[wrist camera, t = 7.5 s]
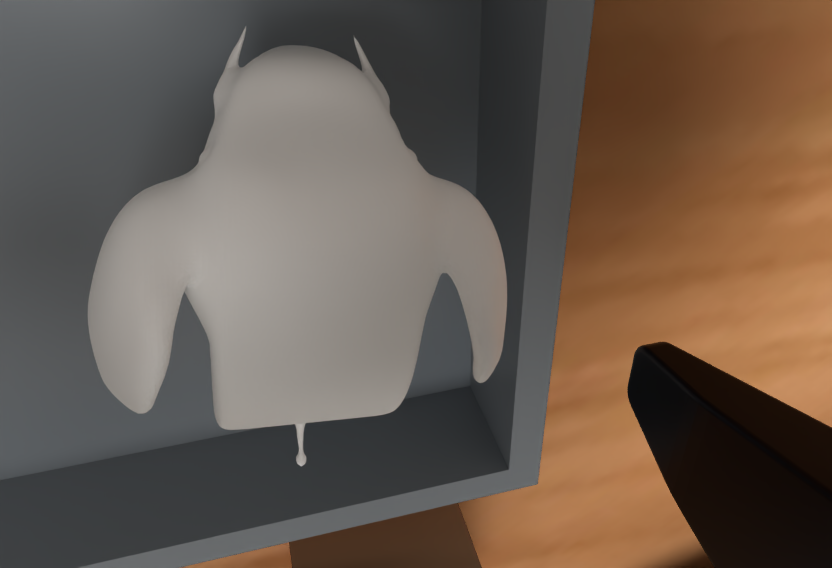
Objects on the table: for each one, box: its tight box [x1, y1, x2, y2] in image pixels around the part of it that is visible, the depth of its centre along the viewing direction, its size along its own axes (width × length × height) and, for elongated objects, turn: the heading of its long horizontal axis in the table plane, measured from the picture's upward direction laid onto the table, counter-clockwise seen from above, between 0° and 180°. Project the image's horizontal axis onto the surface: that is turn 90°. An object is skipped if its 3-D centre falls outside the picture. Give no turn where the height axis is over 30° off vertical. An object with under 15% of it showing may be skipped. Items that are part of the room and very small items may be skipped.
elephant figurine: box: [88, 27, 507, 466], centre depth 13 cm, size 7×8×6 cm
